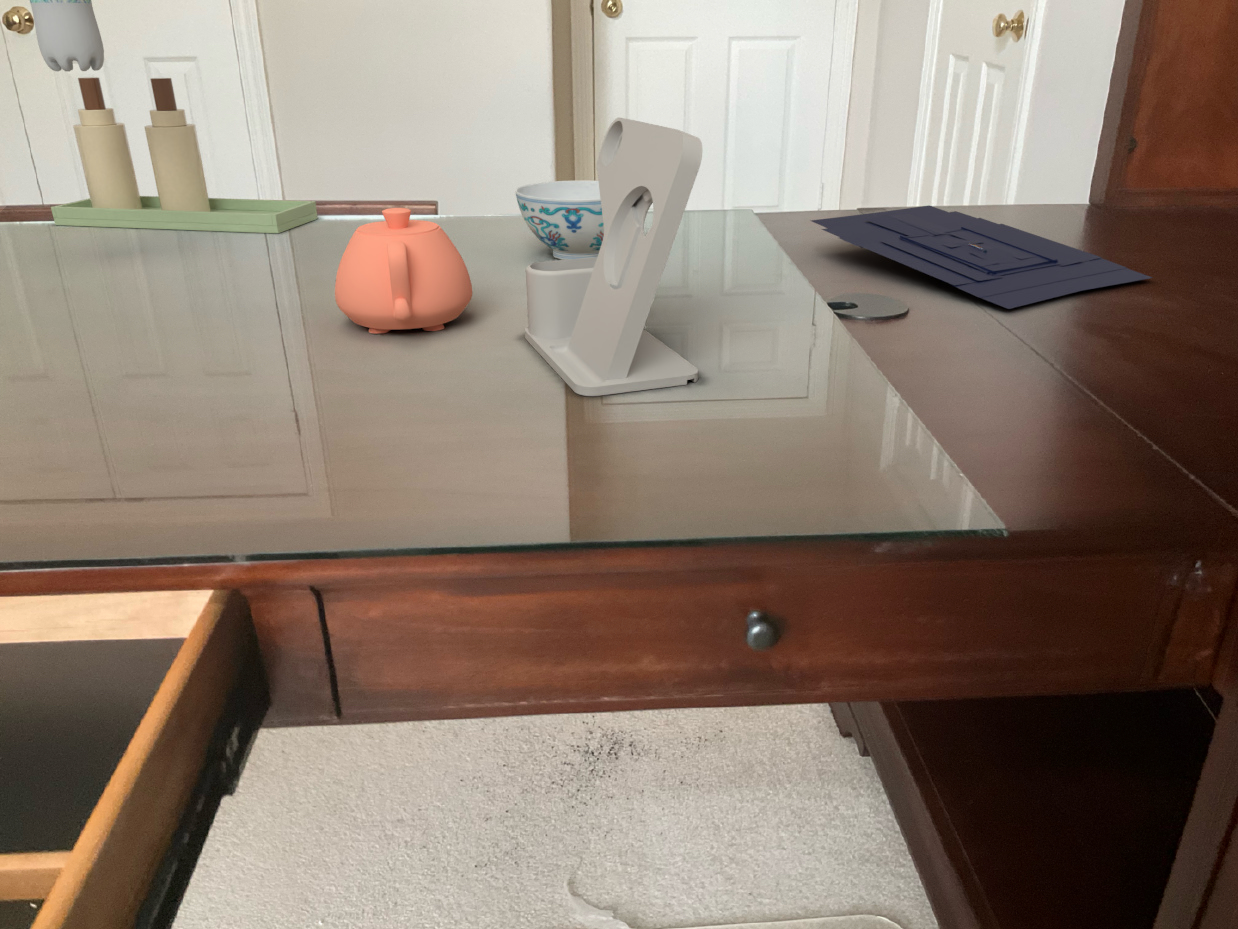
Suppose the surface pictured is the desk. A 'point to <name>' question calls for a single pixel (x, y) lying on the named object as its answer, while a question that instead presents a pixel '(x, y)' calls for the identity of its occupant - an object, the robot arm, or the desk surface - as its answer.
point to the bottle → (68, 34)
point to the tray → (193, 215)
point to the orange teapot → (401, 275)
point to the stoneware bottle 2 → (175, 153)
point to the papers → (979, 254)
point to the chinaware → (564, 216)
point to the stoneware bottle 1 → (105, 152)
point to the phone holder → (618, 269)
